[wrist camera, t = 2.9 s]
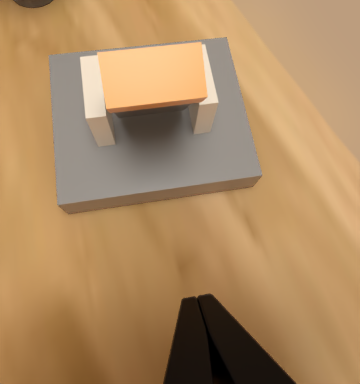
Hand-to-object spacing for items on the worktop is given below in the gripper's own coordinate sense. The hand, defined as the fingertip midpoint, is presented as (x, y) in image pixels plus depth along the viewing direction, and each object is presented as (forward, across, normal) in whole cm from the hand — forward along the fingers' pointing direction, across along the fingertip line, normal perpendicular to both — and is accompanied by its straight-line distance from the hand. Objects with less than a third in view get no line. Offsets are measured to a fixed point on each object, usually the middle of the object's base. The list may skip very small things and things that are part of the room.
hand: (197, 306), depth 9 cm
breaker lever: (+16, 0, -2) cm, 16 cm away
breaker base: (+19, 0, 0) cm, 19 cm away
